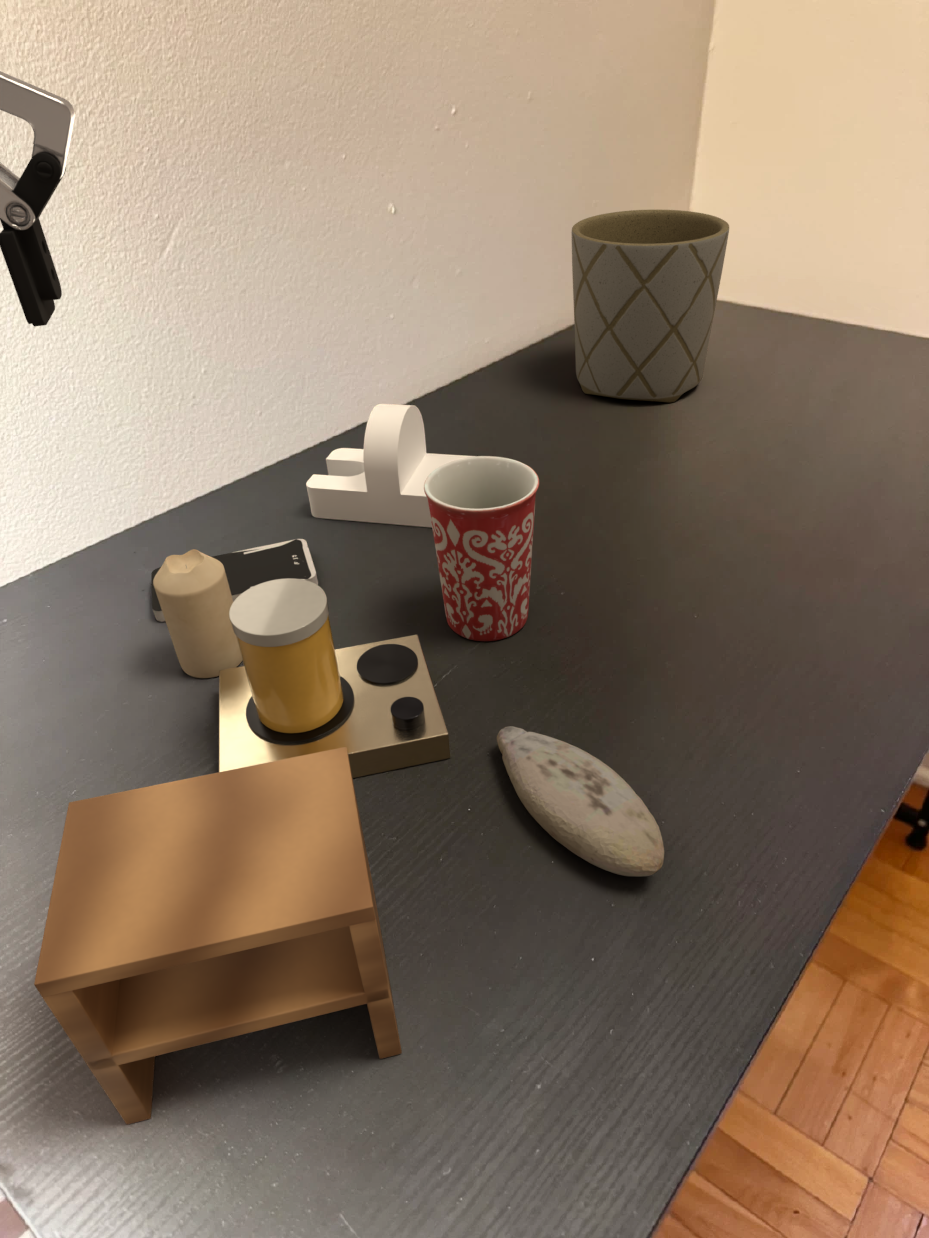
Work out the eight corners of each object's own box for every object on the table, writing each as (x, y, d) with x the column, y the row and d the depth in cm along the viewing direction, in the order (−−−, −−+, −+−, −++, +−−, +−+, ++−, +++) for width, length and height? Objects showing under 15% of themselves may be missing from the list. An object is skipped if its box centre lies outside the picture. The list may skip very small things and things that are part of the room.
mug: (508, 661, 69) (504, 519, 61) (416, 631, 73) (401, 493, 65) (573, 584, 78) (577, 450, 70) (487, 560, 82) (482, 431, 74)
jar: (257, 742, 59) (229, 643, 54) (254, 683, 65) (228, 587, 59) (349, 724, 60) (331, 624, 55) (339, 667, 66) (322, 571, 60)
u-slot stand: (470, 530, 86) (465, 432, 80) (308, 517, 90) (290, 422, 84) (491, 486, 94) (487, 393, 87) (339, 476, 98) (326, 386, 91)
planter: (590, 353, 126) (595, 207, 114) (720, 364, 119) (740, 211, 108) (550, 401, 112) (551, 241, 100) (695, 417, 106) (715, 248, 94)
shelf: (126, 1125, 42) (33, 984, 34) (141, 948, 50) (68, 801, 42) (402, 1053, 44) (373, 906, 36) (374, 895, 52) (346, 746, 44)
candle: (167, 673, 70) (133, 574, 64) (202, 634, 75) (173, 537, 69) (225, 683, 69) (195, 583, 63) (258, 643, 73) (233, 545, 67)
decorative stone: (532, 728, 63) (532, 694, 61) (694, 860, 53) (700, 824, 51) (467, 767, 60) (465, 733, 58) (625, 914, 50) (628, 879, 48)
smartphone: (151, 569, 81) (305, 537, 84) (155, 580, 82) (307, 548, 85) (152, 612, 75) (317, 577, 79) (156, 624, 76) (319, 588, 79)
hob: (226, 804, 59) (214, 767, 56) (225, 693, 68) (215, 658, 66) (450, 758, 61) (447, 721, 59) (420, 657, 70) (416, 622, 68)
